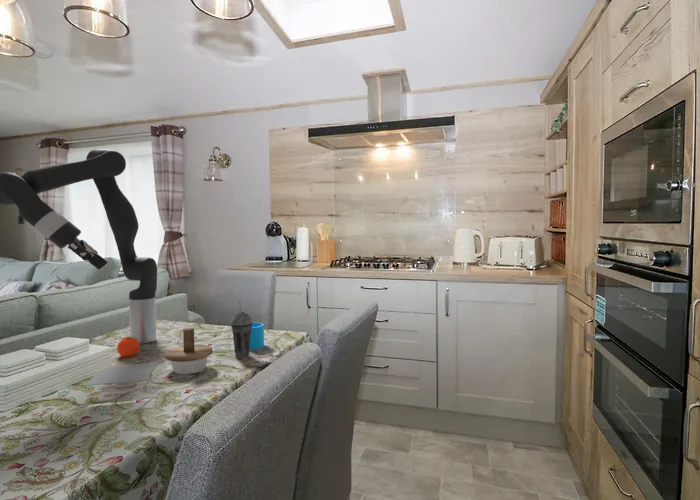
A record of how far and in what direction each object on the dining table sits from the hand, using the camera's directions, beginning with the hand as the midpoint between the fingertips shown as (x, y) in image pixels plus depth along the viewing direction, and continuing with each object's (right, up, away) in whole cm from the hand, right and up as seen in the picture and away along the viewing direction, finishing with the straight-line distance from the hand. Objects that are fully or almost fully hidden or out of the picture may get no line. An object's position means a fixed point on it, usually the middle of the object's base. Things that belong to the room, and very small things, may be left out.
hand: (103, 266), depth 127 cm
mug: (+40, -32, +29) cm, 59 cm away
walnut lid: (+26, -28, +1) cm, 38 cm away
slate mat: (+8, -33, -3) cm, 34 cm away
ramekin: (+26, -33, +1) cm, 43 cm away
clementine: (0, -32, +15) cm, 36 cm away
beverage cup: (+40, -32, +15) cm, 53 cm away
